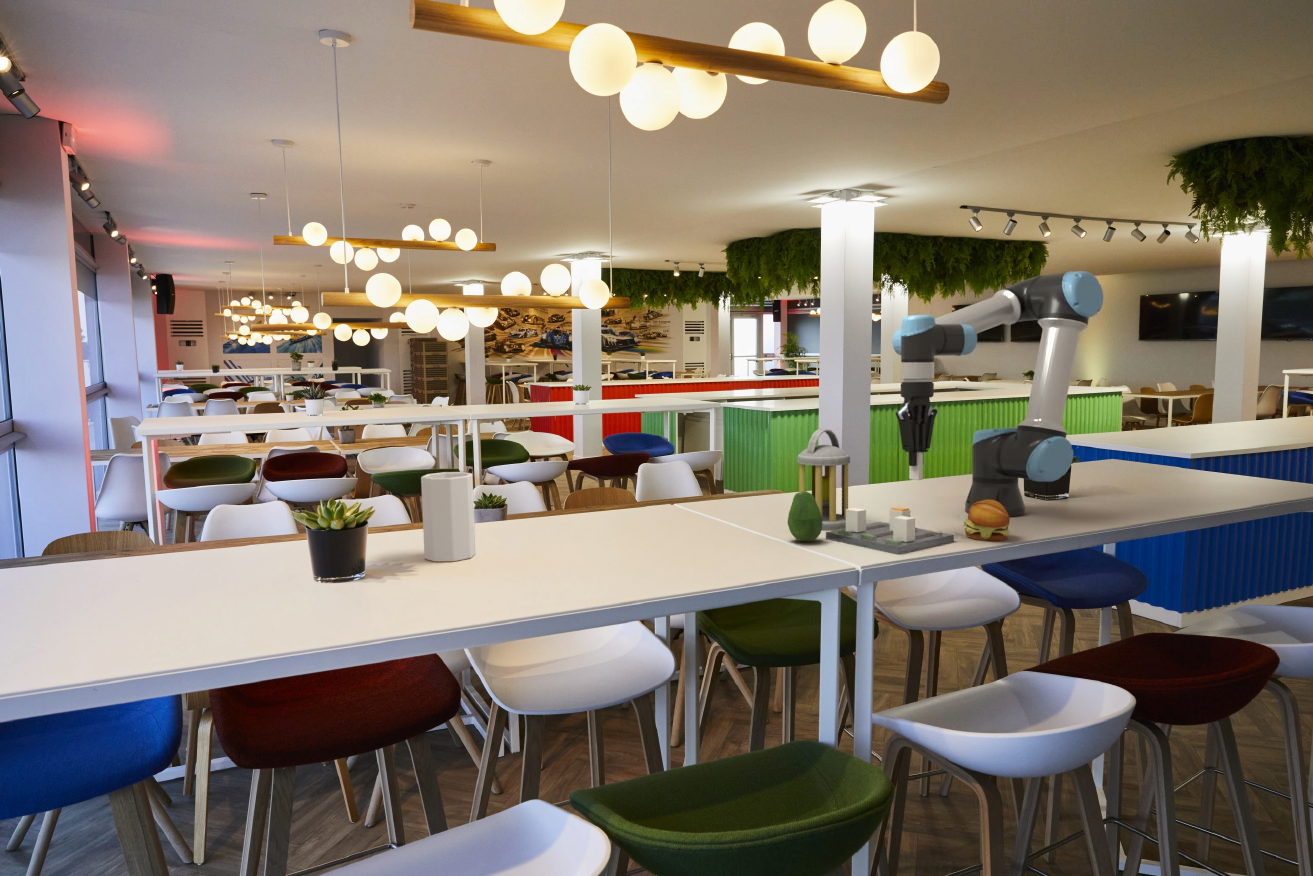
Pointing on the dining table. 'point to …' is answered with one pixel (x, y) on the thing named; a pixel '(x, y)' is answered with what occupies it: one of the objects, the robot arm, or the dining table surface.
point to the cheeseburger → (987, 521)
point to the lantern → (826, 478)
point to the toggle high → (904, 528)
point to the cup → (448, 516)
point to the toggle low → (856, 519)
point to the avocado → (805, 517)
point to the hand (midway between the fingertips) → (915, 479)
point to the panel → (889, 538)
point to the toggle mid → (898, 514)
